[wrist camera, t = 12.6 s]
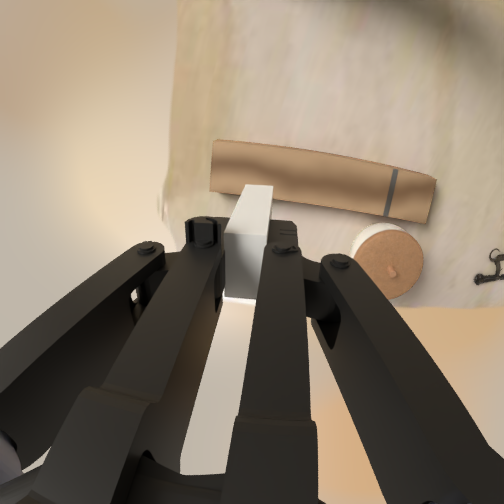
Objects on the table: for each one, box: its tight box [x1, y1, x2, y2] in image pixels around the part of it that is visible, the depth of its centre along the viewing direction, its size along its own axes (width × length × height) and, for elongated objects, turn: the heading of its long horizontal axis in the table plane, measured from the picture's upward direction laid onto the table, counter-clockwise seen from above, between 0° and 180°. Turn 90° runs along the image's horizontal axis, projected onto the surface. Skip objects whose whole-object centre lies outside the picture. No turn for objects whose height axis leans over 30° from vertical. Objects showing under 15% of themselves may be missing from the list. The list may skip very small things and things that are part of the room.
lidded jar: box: [350, 223, 423, 300], centre depth 42 cm, size 11×11×9 cm
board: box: [210, 139, 437, 224], centre depth 41 cm, size 7×32×3 cm, turn 84°
